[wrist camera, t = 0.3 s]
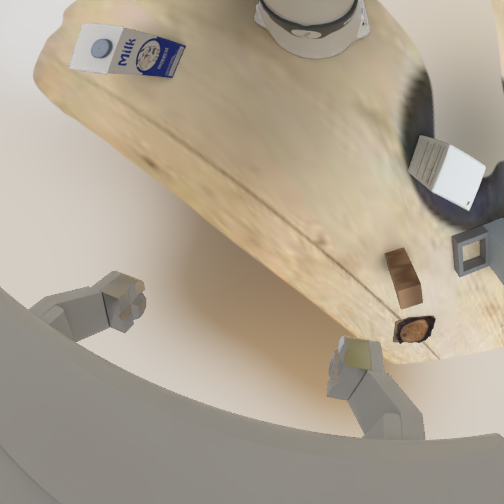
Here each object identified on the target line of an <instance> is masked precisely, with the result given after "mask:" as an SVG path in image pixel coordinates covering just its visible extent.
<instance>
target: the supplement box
mask: <svg viewBox="0 0 504 504" xmlns="http://www.w3.org/2000/svg"><path fill="white" fill-rule="evenodd" d="M485 168H486V166H484V165H483V164H482V163H480V162H479V161H477V160H476V159H474V158H473V157H471V156H470V155H468V154H466V153H465V152H463V151H461V150H460V149H458V148H456V147H454V146H452V145H451V144H448V143H445V142H441V141H439V140H436V139H433V138H430V137H426V136H422V135H420V136H419V139H418V142H417V145H416V148H415V151H414V154H413V157H412V160H411V163H410V166H409V169H408V173H410V174H411V175H412V176H414V177H415V178H416V179H417V180H418V181H420V182H421V183H422V184H423V185H424V186H426V187H427V188H428V189H429V190H430V191H432V192H433V193H435V194H437V195H439V196H441V197H443V198H445V199H447V200H449V201H451V202H453V203H455V204H457V205H459V206H460V207H462V208H464V209H466V210H467V211H469V210H470V207H471V205H472V203H473V201H474V198H475V196H476V193H477V191H478V188H479V186H480V183H481V180H482V177H483V175H484V172H485Z"/></svg>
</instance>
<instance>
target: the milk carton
mask: <svg viewBox="0 0 504 504" xmlns="http://www.w3.org/2000/svg"><path fill="white" fill-rule="evenodd" d="M184 49H185V46H184V45H181V44H178V43H176V42H173V41H170V40H167V39H163V38H160V37H157V36H154V35H150V34H147V33H143V32H139V31H136V30H132V29H128V28H124V26H117V25H106V24H83V27H82V29H81V32H80V35H79V37H78V40H77V43H76V46H75V49H74V52H73V55H72V58H71V62H70V65H69V69H77V70H80V71H87V72H94V73H100V74H107V73H111V74H135V75H149V76H160V77H169V78H172V77H173V75H174V72H175V70H176V67H177V65H178V63H179V60H180V58H181V55H182V53H183V51H184Z"/></svg>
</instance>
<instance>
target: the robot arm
mask: <svg viewBox="0 0 504 504" xmlns="http://www.w3.org/2000/svg"><path fill="white" fill-rule="evenodd" d="M254 20H255V22H256V23H257V24H258V25H260V26H261V27H263V28H265V29H266V30H268V31H269V33H270V34H271V35H272V37H273V38H274V40H275V41H276V42H277V43H278V44H279V45H280V46H281V47H282V48H284V49H285V50H287V51H289V52H290V53H292V54H295V55H298V56H301V57H305V58H312V59H320V58H328V57H332V56H334V55H337V54H339V53H341V52H342V51H344V50H345V49H346V48H347V47H348V46H349V45H350V44H351V43H353V42H354V41H355V40H359V39H362V38H364V37H367V36H368V35H369V33H370V27H369V22H368V17H367V13H366V8H365V4H364V0H259V3H258V4H256V12H255V15H254ZM362 24H364V25H363V26H362ZM144 290H145V287H144V282H143V281H141V280H139V279H136V278H134V277H131V276H128V275H126V274H123V273H120V272H117V271H112V272H111V273H109V274H108V275H107V276H105V277H104V278H103V279H102V280H100V281H99V282H97V283H96V284H95V285H93V286H92V287H84V288H80V289H76V290H72V291H67V292H64V293H59V294H55V295H51V296H47V297H44V298H43V299H42V300H40V301H39V302H38V303H36V304H35V305H34V306H32V307H31V308H30V309H29V310H28V309H26V308H25V307H24V306H23V305H21V304H20V303H19V302H17V301H16V300H15V299H14V298H13V297H11V296H10V295H9V294H8V293H7V292H5V291H4V290H3V289H2V288H1V287H0V504H504V438H503V437H502V436H501V435H500V434H497V433H493V434H486V435H479V436H472V437H463V438H454V439H440V440H425V432H424V424H423V417H422V413H421V412H420V411H419V410H418V408H417V407H416V406H415V405H414V404H413V402H412V401H411V400H410V399H409V397H408V396H407V395H406V394H405V393H404V392H403V390H402V389H401V388H400V387H399V386H398V384H397V383H396V382H395V381H394V379H393V378H392V377H391V376H390V375H389V374H388V373H385V370H384V362H383V355H382V349H381V343H380V342H378V341H371V340H364V339H358V338H353V337H348V336H342V337H341V339H340V341H339V344H338V350H336V351H335V352H334V354H333V356H332V359H331V363H330V367H329V375H330V377H331V378H330V380H329V382H328V389H327V397H332V398H337V399H342V400H348V403H349V405H350V407H351V409H352V411H353V413H354V415H355V417H356V418H357V421H358V422H359V425H360V426H361V428H362V430H363V432H364V434H365V435H364V436H363V437H362V438H356V437H346V436H338V435H331V434H323V433H318V432H312V431H306V430H300V429H295V428H290V427H286V426H281V425H277V424H272V423H268V422H264V421H260V420H256V419H253V418H248V417H245V416H242V415H238V414H235V413H232V412H228V411H225V410H221V409H219V408H216V407H213V406H210V405H207V404H204V403H201V402H198V401H196V400H193V399H190V398H188V397H185V396H182V395H180V394H177V393H175V392H172V391H170V390H167V389H165V388H163V387H160V386H158V385H156V384H154V383H151V382H149V381H147V380H145V379H143V378H140V377H138V376H136V375H134V374H132V373H130V372H128V371H126V370H124V369H122V368H120V367H118V366H116V365H114V364H113V363H111V362H109V361H107V360H105V359H103V358H101V357H100V356H98V355H96V354H94V353H93V352H91V351H89V350H87V349H86V348H84V347H82V346H81V345H79V344H77V343H76V342H78V341H80V340H82V339H85V338H87V337H89V336H92V335H94V334H96V333H98V332H100V331H103V330H105V329H107V328H109V327H111V328H114V329H116V330H118V331H121V332H123V333H126V332H127V331H128V330H129V328H130V327H131V326H132V325H133V324H134V323H133V322H134V321H133V320H135V319H138V318H140V317H141V316H142V314H143V313H144V310H145V308H146V298H145V296H144V294H143V293H142V292H143V291H144Z"/></svg>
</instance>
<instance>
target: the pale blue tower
mask: <svg viewBox="0 0 504 504" xmlns="http://www.w3.org/2000/svg"><path fill="white" fill-rule="evenodd" d="M478 240H480V256H478V257H476V258H473V259H470V260H468V261H465V262H463V252H462V246H465V245H468V244H470V243H473V242H476V241H478ZM452 242H453V253H454V267H455V271H456V272H457V274H458V276H459V277H462V276H464V275H467V274H470V273H472V272H475V271H477V270H480V269H482V268H485V267H487V266H490V267H491V268H492V270H493V271H494V272H495V274H496V275H497V276H498V278H499V279H500V281H501V282H502V283H503V285H504V218H500V219H498V220H495V221H492V222H490V223H487V224H484V225H482V226H479V227H476V228H474V229H471V230H468V231H466V232H463V233H460V234H457V235H454V236H452Z"/></svg>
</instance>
